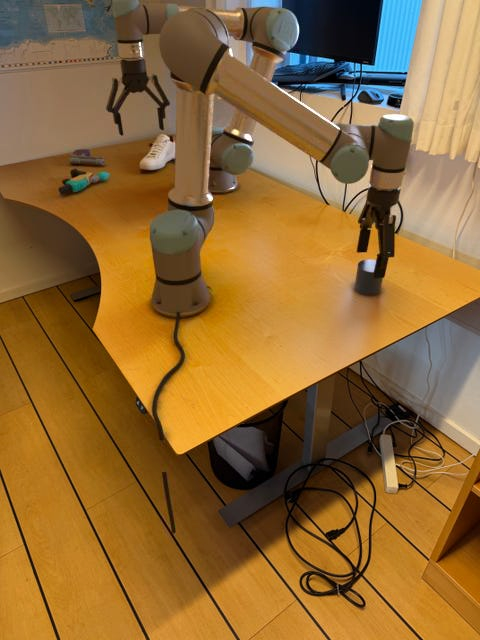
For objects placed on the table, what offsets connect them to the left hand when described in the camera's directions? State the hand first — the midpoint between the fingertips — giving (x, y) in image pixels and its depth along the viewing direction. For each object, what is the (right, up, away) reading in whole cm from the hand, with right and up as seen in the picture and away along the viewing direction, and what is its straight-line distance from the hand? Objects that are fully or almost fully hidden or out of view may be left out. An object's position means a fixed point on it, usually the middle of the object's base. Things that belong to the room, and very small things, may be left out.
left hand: (369, 264), depth 125 cm
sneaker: (-72, +57, +92) cm, 130 cm away
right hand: (-67, +47, +30) cm, 87 cm away
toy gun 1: (-104, +59, +96) cm, 154 cm away
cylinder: (+1, -6, +4) cm, 8 cm away
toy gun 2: (-101, +40, +70) cm, 130 cm away
